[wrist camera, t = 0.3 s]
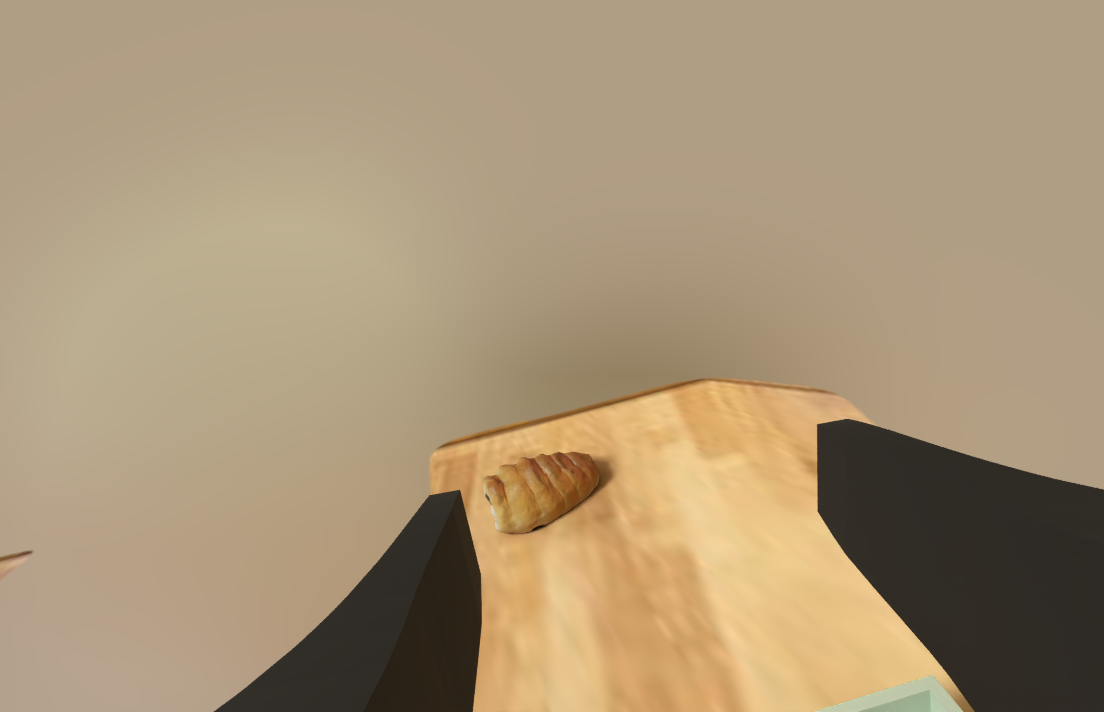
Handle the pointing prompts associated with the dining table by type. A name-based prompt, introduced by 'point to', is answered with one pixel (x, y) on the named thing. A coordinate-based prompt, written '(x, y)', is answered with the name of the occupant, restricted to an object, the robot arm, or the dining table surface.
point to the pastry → (539, 489)
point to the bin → (903, 699)
